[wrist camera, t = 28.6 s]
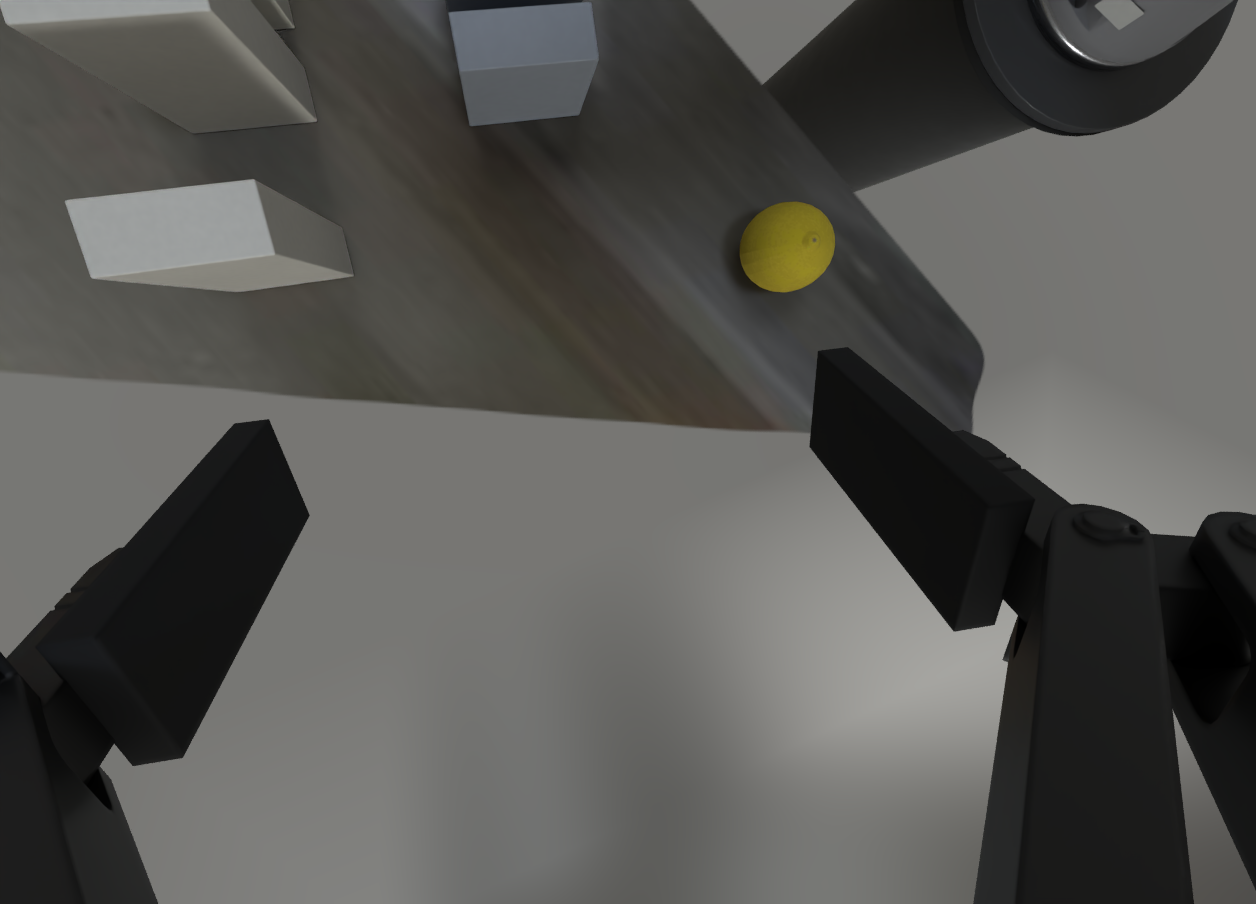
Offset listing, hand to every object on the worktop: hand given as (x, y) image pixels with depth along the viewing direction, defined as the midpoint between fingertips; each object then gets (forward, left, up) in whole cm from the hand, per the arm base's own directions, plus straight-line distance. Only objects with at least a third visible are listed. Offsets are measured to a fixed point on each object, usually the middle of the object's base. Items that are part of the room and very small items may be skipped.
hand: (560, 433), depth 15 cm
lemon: (-16, -8, -28) cm, 34 cm away
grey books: (+1, -20, -28) cm, 34 cm away
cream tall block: (+15, -5, -28) cm, 32 cm away
